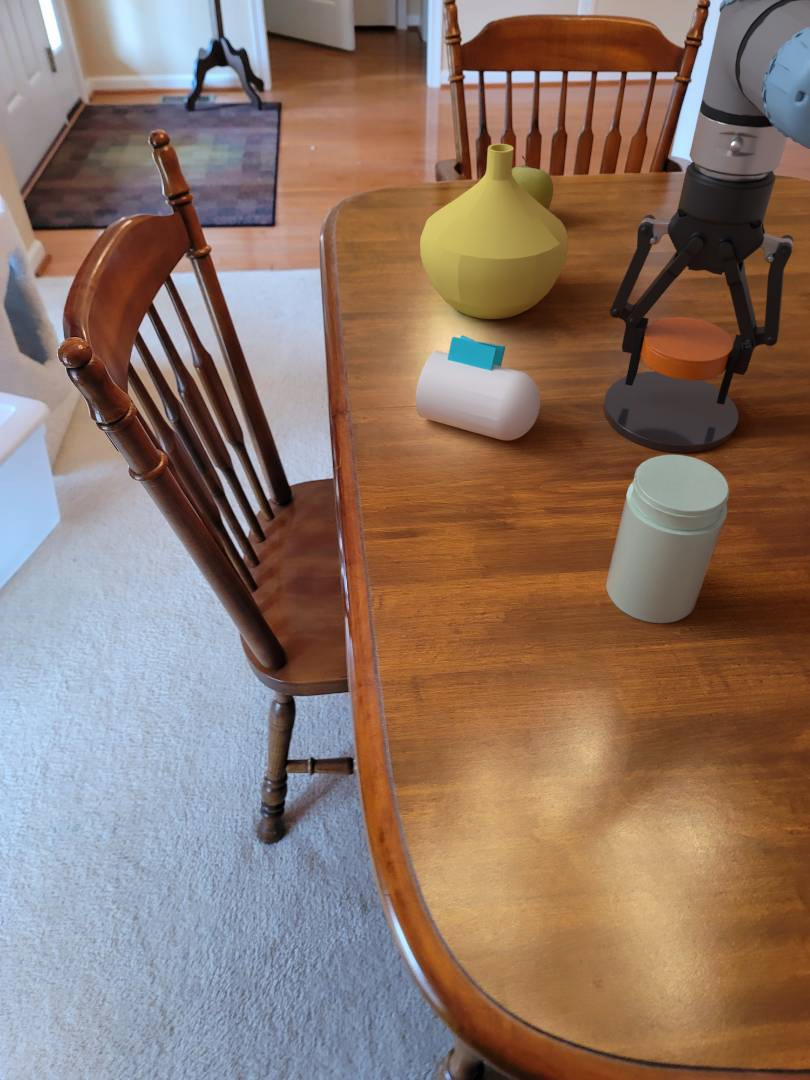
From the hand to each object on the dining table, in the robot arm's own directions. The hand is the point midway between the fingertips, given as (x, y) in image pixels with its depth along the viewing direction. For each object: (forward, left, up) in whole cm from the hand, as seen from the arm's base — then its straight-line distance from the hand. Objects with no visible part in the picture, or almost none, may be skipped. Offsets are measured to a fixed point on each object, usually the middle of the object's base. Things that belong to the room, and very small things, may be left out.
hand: (675, 387), depth 88 cm
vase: (+26, -17, -4) cm, 31 cm away
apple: (+29, -43, -4) cm, 52 cm away
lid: (0, 0, +5) cm, 5 cm away
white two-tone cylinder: (+18, +8, -4) cm, 20 cm away
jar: (-3, +27, -3) cm, 27 cm away
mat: (0, 0, -3) cm, 3 cm away
